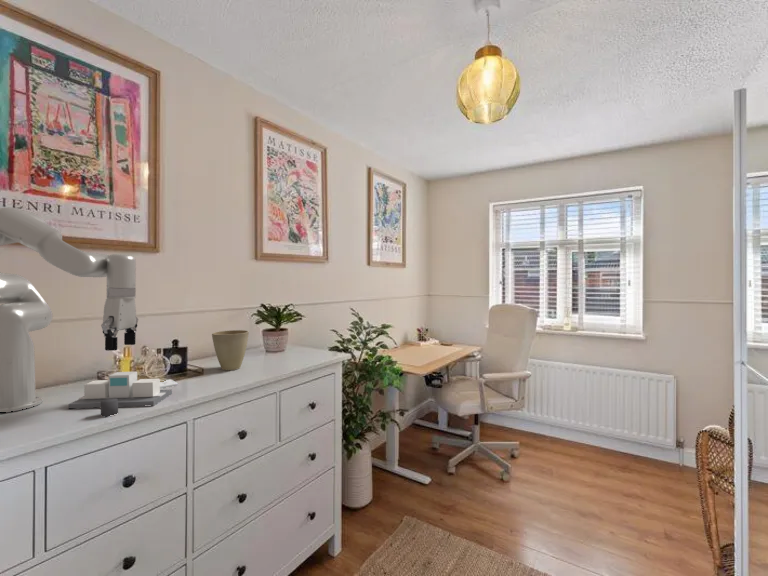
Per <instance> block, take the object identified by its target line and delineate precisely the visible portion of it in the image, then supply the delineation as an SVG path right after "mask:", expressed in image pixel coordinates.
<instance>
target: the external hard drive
mask: <svg viewBox="0 0 768 576" xmlns="http://www.w3.org/2000/svg"><path fill="white" fill-rule="evenodd" d="M165 380H166V381H164V380H163V381H164V382H160V388H163V389H167V388H166V387H169V388H172V386H174V387H177V385H178V386H179V383H178V382H176V381H174V380H173V379H165Z"/></svg>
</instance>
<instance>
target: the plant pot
mask: <svg viewBox="0 0 768 576" xmlns="http://www.w3.org/2000/svg"><path fill="white" fill-rule="evenodd" d="M249 332H250V331H249V330H244V329H236V330H235V329H231V330H222V331H220V330H219V331H215V332H212V333H211V336H212V343H213V348H214V352H215V355H216V358H217V361H218V363H219V365H220V368H221V370H222V371H234V370H239V369H241V367H242V363H243V361H244V357H245V354H246V351H247V346H248V342H249V341H248V340H249Z"/></svg>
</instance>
